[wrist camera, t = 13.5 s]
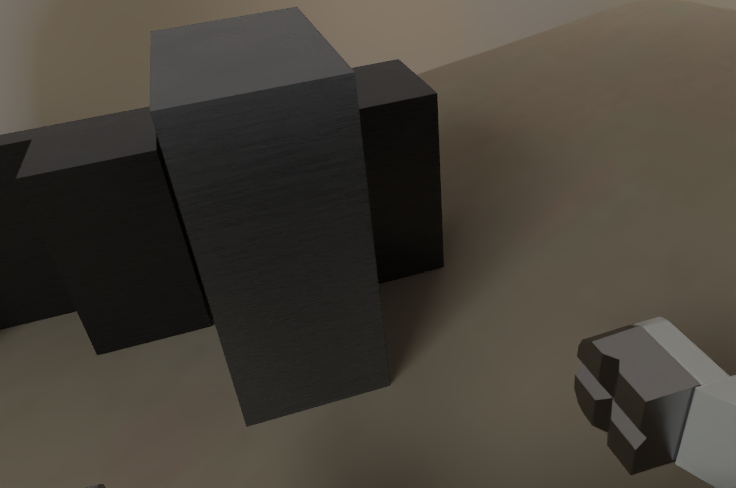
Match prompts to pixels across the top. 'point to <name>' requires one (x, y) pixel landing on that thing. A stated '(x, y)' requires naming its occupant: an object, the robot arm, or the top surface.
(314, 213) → the block
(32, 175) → the rack rail
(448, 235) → the top surface
